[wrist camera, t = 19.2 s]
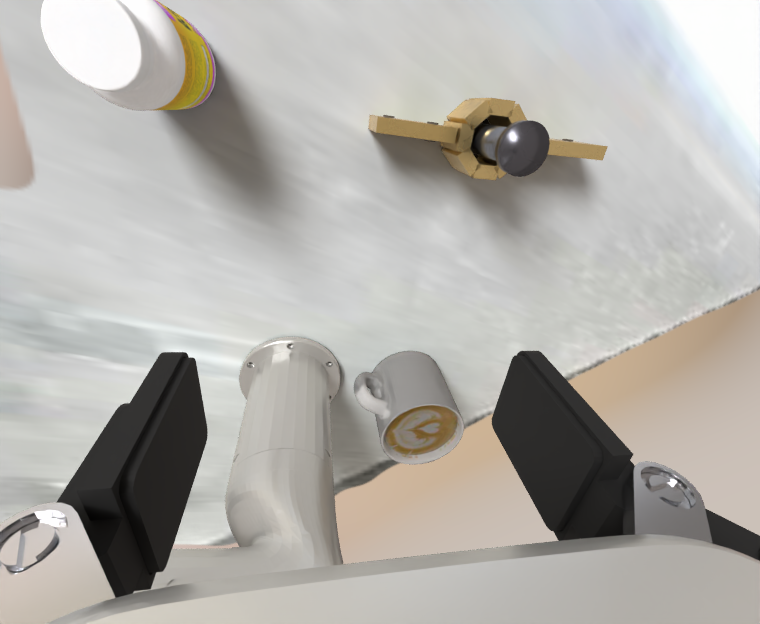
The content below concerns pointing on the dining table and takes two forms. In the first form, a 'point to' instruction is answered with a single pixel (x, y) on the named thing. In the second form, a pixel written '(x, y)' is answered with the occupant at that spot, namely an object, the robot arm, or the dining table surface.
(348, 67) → the dining table surface
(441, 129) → the wooden hinge leaf
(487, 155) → the hinge pin
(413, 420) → the coffee mug
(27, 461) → the dining table surface
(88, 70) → the supplement bottle
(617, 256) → the dining table surface
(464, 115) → the hinge base
